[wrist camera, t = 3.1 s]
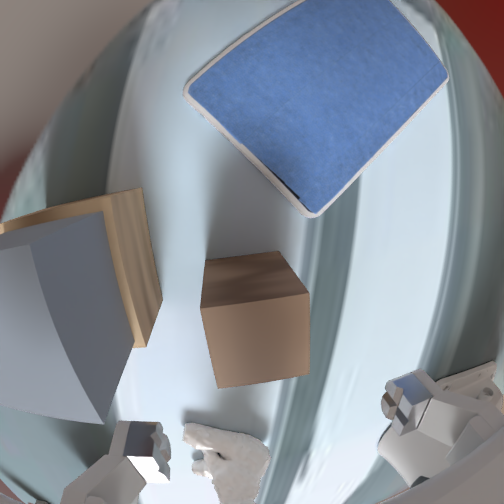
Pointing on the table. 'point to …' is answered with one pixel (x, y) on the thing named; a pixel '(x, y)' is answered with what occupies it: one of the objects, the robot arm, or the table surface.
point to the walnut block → (255, 319)
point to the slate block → (61, 320)
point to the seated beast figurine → (229, 461)
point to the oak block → (118, 251)
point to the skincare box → (41, 502)
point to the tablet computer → (318, 93)
